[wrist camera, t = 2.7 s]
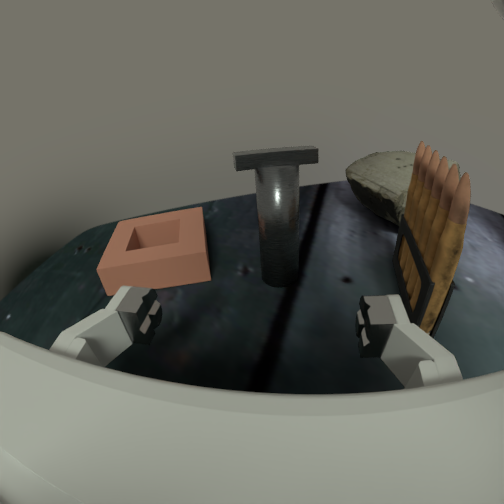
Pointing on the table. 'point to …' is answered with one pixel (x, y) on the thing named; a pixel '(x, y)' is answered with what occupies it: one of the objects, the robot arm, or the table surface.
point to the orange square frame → (156, 252)
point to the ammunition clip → (431, 238)
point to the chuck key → (277, 207)
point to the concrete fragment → (384, 182)
